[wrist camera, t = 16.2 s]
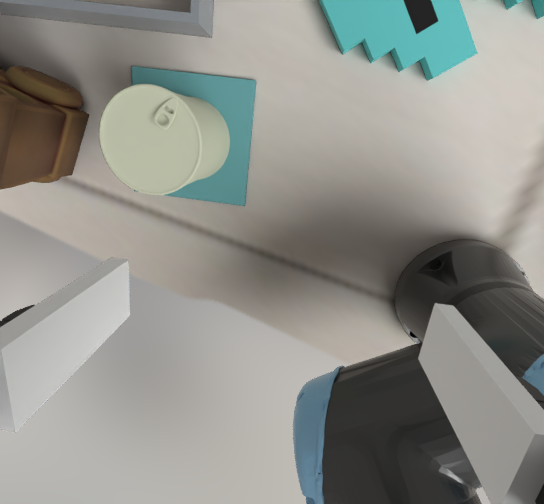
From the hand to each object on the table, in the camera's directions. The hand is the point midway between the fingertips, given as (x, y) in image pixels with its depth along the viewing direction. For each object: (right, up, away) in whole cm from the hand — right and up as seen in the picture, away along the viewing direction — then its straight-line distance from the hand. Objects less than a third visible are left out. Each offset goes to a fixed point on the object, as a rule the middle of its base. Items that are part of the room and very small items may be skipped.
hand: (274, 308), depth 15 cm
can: (-10, +16, +26) cm, 32 cm away
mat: (-10, +16, +26) cm, 32 cm away
